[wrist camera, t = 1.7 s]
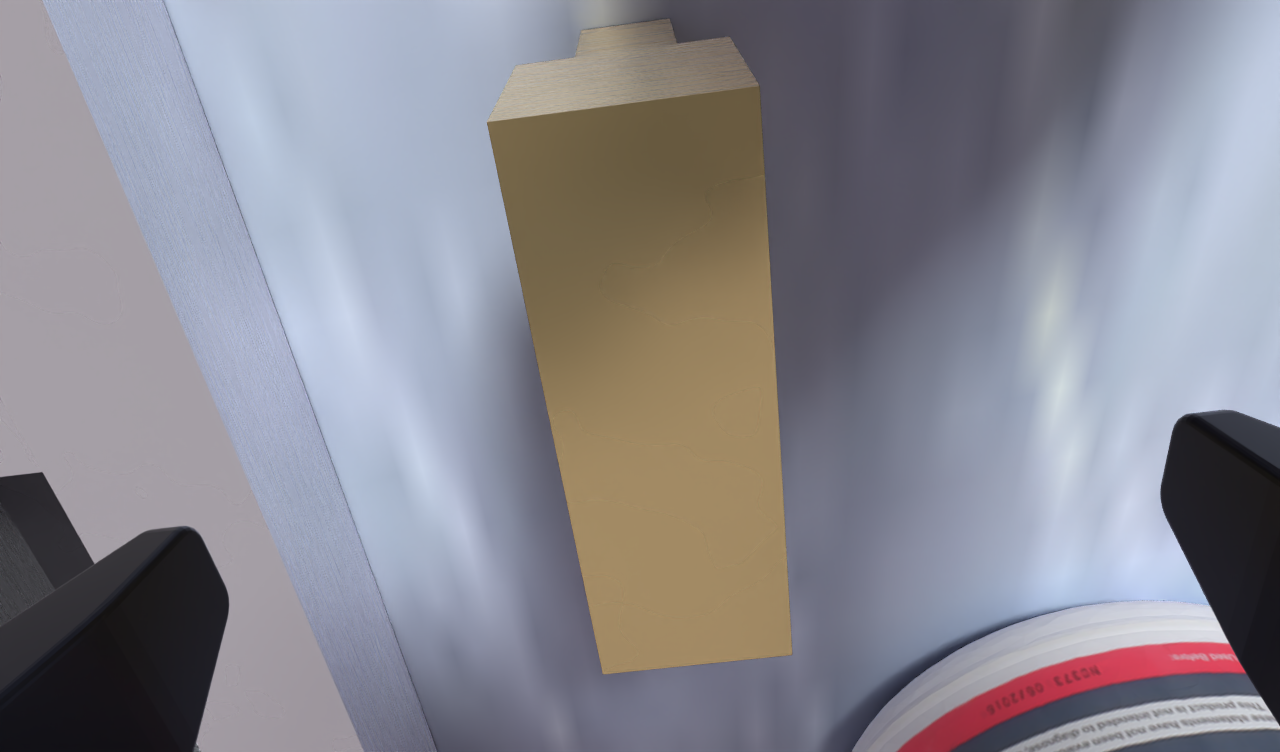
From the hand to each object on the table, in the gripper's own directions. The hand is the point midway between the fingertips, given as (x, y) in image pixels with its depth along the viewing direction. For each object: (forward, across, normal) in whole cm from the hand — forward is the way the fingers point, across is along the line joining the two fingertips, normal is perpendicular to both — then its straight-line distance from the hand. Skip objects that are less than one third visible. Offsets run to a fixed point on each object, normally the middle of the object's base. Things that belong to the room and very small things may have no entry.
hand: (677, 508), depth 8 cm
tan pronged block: (+8, 0, 0) cm, 8 cm away
